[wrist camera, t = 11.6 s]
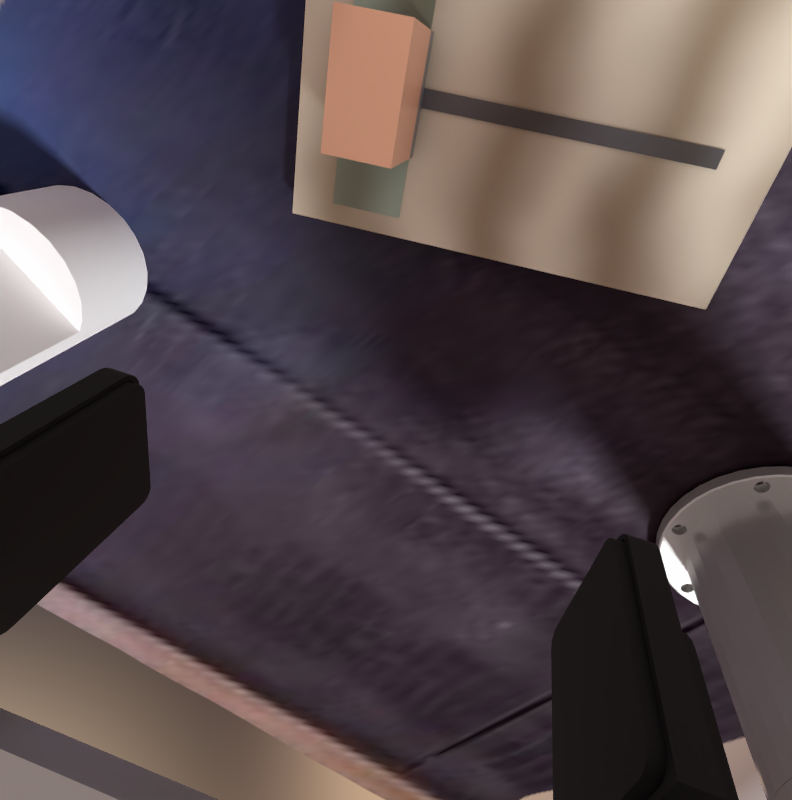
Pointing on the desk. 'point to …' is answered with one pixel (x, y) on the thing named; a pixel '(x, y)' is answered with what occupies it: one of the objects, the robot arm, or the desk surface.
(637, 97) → the fader board
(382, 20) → the fader tab
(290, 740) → the desk surface
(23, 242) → the cylinder with rectangular tab
